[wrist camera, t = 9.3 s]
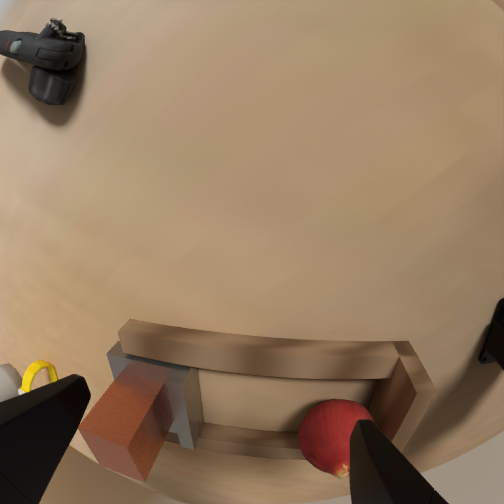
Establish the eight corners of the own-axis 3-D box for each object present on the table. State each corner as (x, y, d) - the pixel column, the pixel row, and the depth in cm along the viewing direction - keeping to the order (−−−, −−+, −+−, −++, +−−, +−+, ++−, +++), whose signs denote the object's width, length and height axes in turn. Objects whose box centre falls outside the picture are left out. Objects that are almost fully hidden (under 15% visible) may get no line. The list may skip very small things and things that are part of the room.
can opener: (115, 42, 16) (72, 18, 10) (70, 116, 18) (21, 110, 12) (30, 14, 15) (-2, 3, 9) (1, 66, 17) (-33, 61, 11)
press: (196, 356, 21) (152, 442, 12) (203, 423, 23) (176, 498, 15) (118, 341, 22) (58, 406, 13) (136, 407, 24) (97, 470, 16)
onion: (335, 429, 22) (340, 499, 14) (285, 409, 22) (279, 485, 14) (379, 392, 20) (399, 465, 13) (328, 367, 20) (338, 449, 13)
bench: (408, 340, 19) (436, 390, 13) (366, 442, 22) (374, 488, 17) (130, 319, 21) (89, 359, 16) (154, 422, 25) (133, 463, 19)
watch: (42, 350, 25) (11, 372, 20) (57, 359, 25) (26, 384, 19) (50, 386, 27) (24, 410, 21) (65, 395, 27) (39, 421, 21)
